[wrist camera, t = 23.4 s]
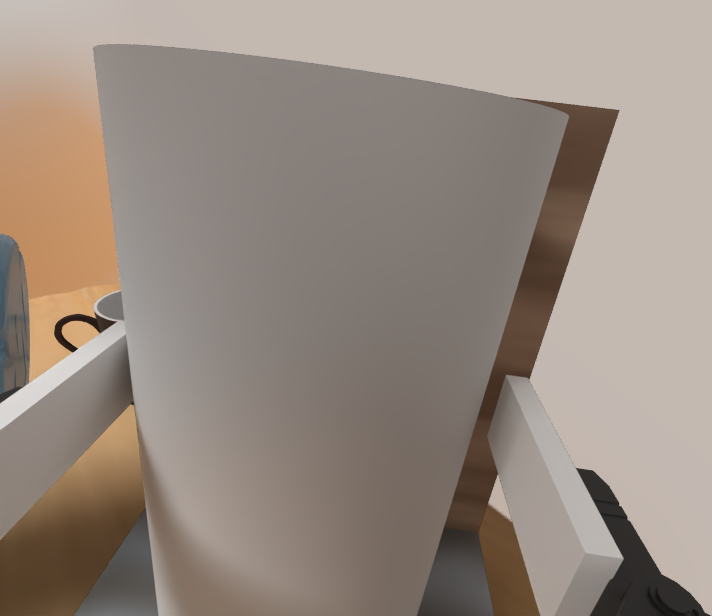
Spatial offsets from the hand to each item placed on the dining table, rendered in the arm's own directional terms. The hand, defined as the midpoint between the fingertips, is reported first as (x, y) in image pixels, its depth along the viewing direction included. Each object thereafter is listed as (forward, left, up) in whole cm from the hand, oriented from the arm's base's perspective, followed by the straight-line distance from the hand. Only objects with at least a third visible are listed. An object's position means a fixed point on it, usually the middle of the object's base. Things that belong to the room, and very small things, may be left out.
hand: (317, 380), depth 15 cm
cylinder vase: (+1, +1, -16) cm, 16 cm away
